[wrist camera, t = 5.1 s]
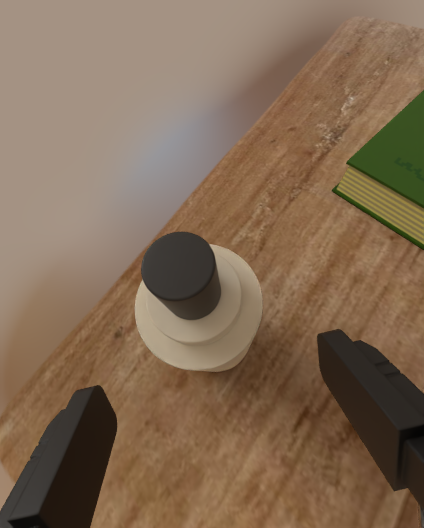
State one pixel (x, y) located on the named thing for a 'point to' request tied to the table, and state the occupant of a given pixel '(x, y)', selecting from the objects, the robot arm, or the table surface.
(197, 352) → the bottle
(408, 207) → the hardcover book
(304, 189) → the table surface
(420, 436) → the robot arm
